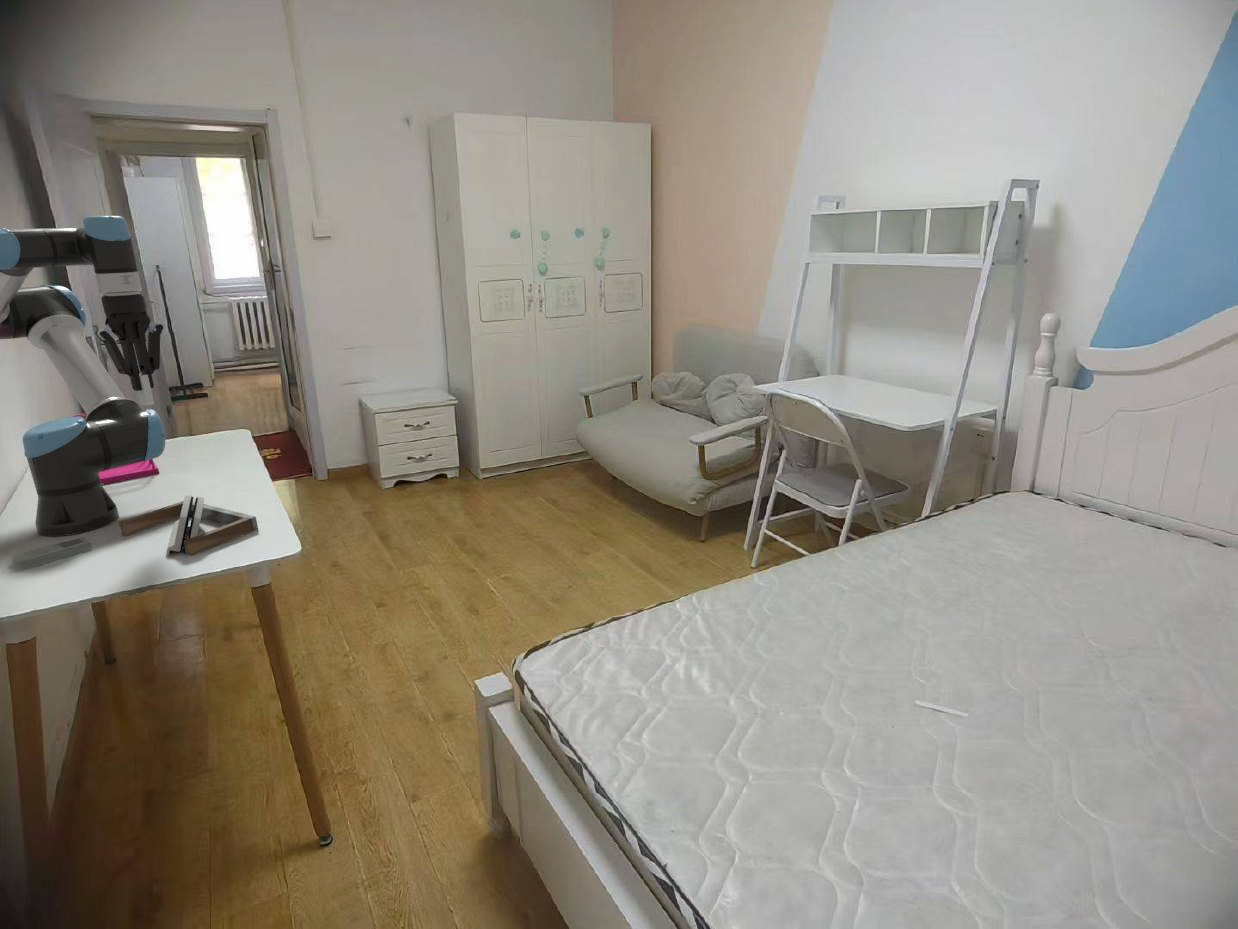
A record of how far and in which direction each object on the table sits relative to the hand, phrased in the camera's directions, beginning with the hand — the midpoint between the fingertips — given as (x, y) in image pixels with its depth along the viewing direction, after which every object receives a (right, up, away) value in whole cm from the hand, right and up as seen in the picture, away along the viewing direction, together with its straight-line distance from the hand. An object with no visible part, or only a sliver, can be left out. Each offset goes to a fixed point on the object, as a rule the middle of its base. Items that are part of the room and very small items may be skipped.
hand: (147, 404), depth 161 cm
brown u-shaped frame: (+10, -28, -1) cm, 30 cm away
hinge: (+12, -29, -5) cm, 32 cm away
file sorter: (-37, -15, +45) cm, 60 cm away
